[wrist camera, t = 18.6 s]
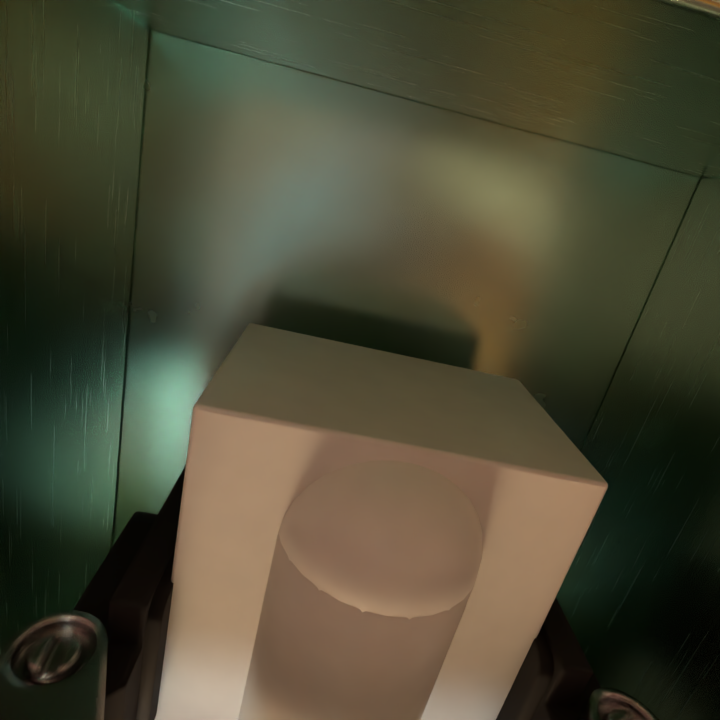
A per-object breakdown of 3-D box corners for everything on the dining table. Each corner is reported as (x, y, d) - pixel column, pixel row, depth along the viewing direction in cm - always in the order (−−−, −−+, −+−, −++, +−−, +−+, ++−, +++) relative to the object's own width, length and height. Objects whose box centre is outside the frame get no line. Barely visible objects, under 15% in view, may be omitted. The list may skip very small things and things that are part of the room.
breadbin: (496, 657, 17) (611, 1020, 10) (92, 596, 16) (-133, 968, 8) (723, 150, 11) (1398, 100, 4) (129, -14, 10) (-460, -538, 3)
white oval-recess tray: (248, 321, 10) (156, 456, 5) (519, 378, 11) (667, 548, 6) (197, 641, 13) (108, 920, 8) (410, 672, 14) (447, 947, 9)
